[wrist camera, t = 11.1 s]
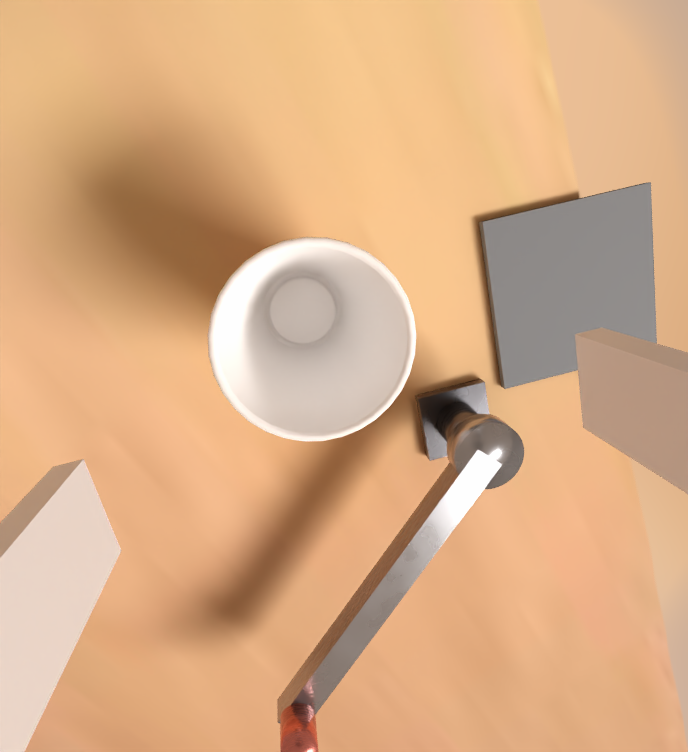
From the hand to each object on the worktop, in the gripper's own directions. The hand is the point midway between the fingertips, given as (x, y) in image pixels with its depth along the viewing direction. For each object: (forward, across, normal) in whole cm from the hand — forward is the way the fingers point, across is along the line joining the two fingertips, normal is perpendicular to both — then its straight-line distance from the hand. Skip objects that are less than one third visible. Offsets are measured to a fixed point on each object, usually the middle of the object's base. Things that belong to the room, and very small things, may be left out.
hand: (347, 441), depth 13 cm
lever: (+17, +1, -18) cm, 25 cm away
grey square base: (+22, +9, -10) cm, 26 cm away
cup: (+22, 0, 0) cm, 22 cm away
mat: (+22, +19, -3) cm, 29 cm away
